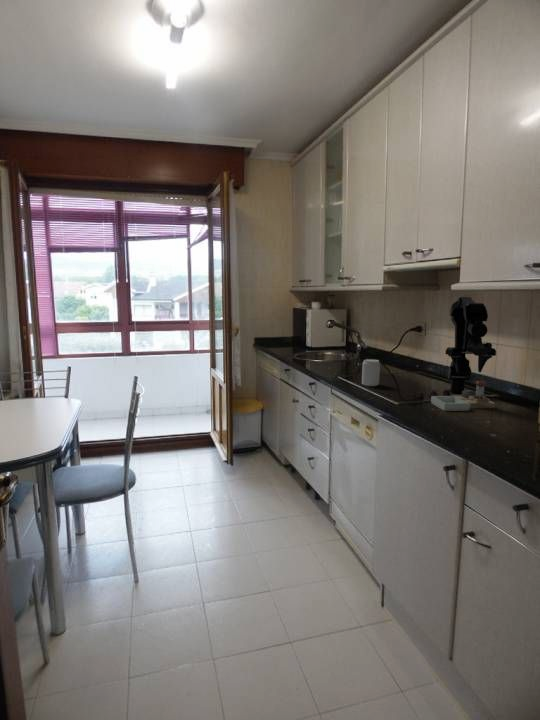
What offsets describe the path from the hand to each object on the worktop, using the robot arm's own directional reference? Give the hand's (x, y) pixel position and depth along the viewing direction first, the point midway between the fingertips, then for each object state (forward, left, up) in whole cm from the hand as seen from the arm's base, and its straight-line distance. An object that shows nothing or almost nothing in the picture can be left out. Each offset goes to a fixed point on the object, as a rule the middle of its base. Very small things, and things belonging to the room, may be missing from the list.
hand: (468, 372), depth 183 cm
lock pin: (+6, +2, -11) cm, 12 cm away
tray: (+6, -10, -13) cm, 17 cm away
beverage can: (-34, -30, -13) cm, 47 cm away
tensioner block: (+2, +2, -13) cm, 13 cm away
